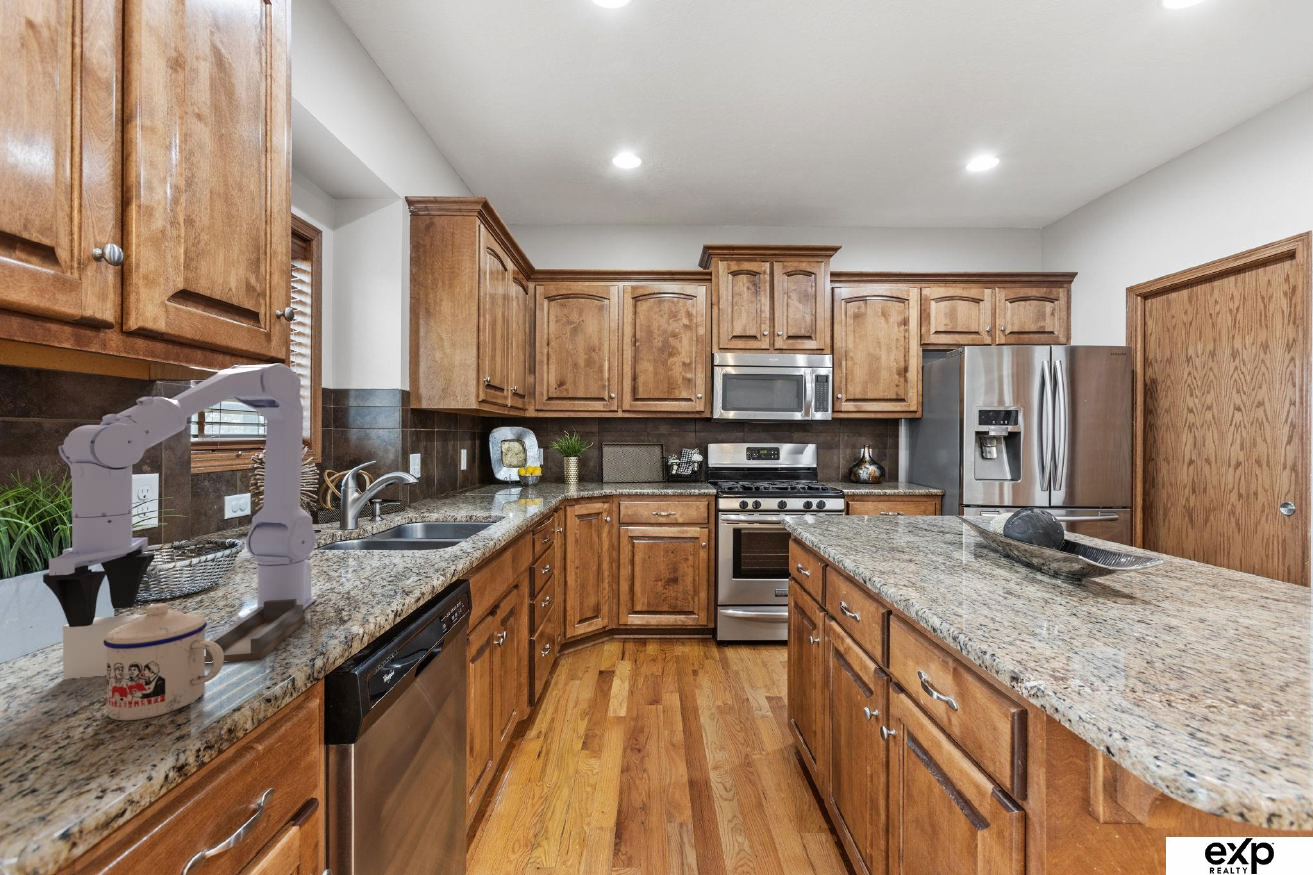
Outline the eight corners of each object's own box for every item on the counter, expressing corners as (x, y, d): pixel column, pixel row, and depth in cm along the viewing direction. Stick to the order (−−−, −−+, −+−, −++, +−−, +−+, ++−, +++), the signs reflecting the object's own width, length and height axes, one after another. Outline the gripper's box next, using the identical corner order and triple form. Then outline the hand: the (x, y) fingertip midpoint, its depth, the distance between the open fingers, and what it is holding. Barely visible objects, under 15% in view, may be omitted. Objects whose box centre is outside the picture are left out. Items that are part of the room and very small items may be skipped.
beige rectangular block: (81, 670, 75) (80, 618, 75) (142, 665, 77) (142, 614, 77) (63, 679, 72) (62, 626, 72) (127, 674, 74) (126, 622, 74)
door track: (257, 625, 93) (257, 601, 93) (304, 621, 94) (304, 598, 94) (203, 663, 77) (203, 635, 77) (260, 659, 79) (260, 631, 79)
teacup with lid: (79, 723, 61) (79, 618, 61) (152, 686, 71) (151, 594, 70) (191, 722, 62) (190, 617, 62) (249, 685, 71) (248, 593, 71)
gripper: (107, 508, 81) (107, 602, 81) (17, 524, 67) (18, 637, 67) (164, 507, 82) (164, 599, 82) (88, 522, 68) (89, 633, 68)
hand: (103, 616), depth 75 cm, fingers open, 7 cm apart
